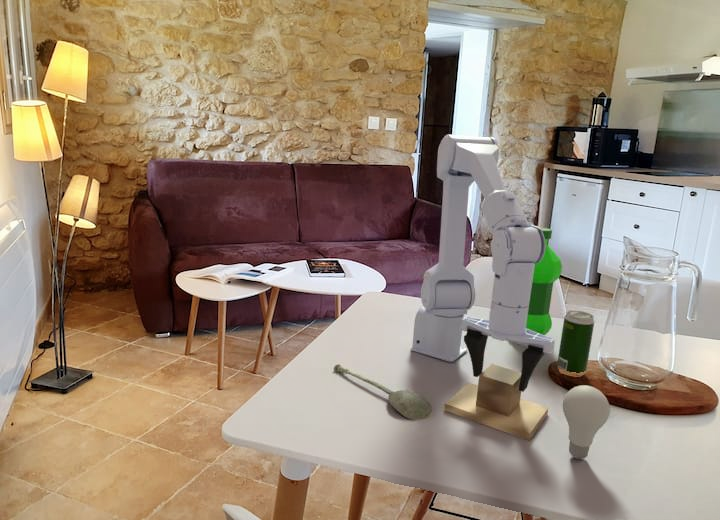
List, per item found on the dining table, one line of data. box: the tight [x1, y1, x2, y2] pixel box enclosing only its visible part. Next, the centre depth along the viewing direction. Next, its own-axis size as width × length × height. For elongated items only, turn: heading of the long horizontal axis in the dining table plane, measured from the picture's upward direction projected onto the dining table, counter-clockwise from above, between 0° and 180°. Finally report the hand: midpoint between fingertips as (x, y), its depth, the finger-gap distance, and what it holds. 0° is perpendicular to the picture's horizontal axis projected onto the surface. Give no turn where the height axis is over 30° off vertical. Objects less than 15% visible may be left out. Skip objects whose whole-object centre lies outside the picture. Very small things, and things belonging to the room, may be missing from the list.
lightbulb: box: [562, 384, 611, 460], centre depth 77 cm, size 6×6×11 cm
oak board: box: [443, 382, 549, 441], centre depth 90 cm, size 14×10×1 cm
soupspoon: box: [333, 364, 433, 421], centre depth 94 cm, size 22×3×7 cm
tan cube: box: [476, 363, 522, 417], centre depth 89 cm, size 6×6×6 cm
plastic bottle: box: [526, 226, 563, 336], centre depth 122 cm, size 10×10×25 cm
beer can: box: [556, 309, 595, 373], centre depth 105 cm, size 5×5×12 cm
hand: (499, 381), depth 89 cm, fingers open, 7 cm apart
